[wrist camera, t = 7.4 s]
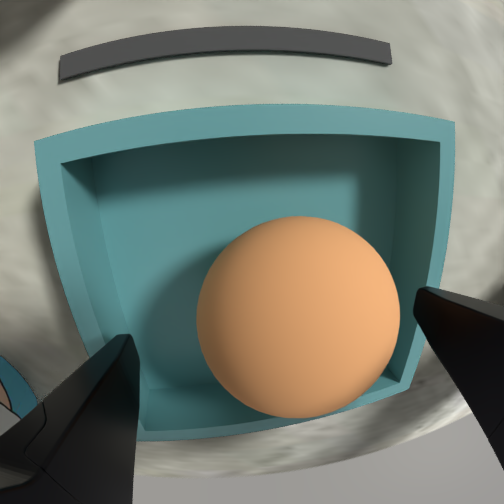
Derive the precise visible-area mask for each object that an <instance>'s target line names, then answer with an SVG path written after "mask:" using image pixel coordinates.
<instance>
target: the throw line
mask: <svg viewBox="0 0 504 504" xmlns="http://www.w3.org/2000/svg"><path fill="white" fill-rule="evenodd" d="M226 51H284V52H302V53H314V54H325V55H333V56H341V57H349V58H355V59H362V60H368V61H373V62H378V63H383V64H388V65H391V64H392V57H391V49H390V43H386V42H382V41H378V40H373V39H369V38H364V37H358V36H353V35H347V34H341V33H335V32H328V31H320V30H312V29H302V28H289V27H271V26H222V27H204V28H191V29H181V30H173V31H165V32H158V33H152V34H146V35H140V36H135V37H130V38H125V39H120V40H116V41H111V42H107V43H103V44H99V45H95V46H92V47H88V48H84V49H81V50H78V51H74V52H71V53H68V54H65V55H62V56H60V80H64V79H67V78H71V77H74V76H77V75H81V74H84V73H88V72H92V71H96V70H100V69H104V68H108V67H112V66H117V65H122V64H127V63H132V62H137V61H143V60H148V59H155V58H161V57H169V56H177V55H186V54H196V53H208V52H226Z"/></svg>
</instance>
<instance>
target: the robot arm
mask: <svg viewBox="0 0 504 504" xmlns="http://www.w3.org/2000/svg"><path fill="white" fill-rule="evenodd" d="M413 316H414V318H415V319H416V321H417V323H418V325H419V326H420V328H421V330H422V332H423V333H424V335H425V337H426V339H427V341H428V342H429V344H430V346H431V348H432V349H433V351H434V352H435V354H436V355H437V357H438V358H439V360H440V361H441V363H442V364H443V366H444V367H445V369H446V370H447V372H448V374H449V375H450V377H451V378H452V380H453V381H454V383H455V384H456V386H457V388H458V389H459V391H460V392H461V394H462V396H463V397H464V399H465V400H466V402H467V404H468V405H469V407H470V409H471V410H472V412H473V414H474V416H475V417H476V419H477V421H478V422H479V424H480V426H481V428H482V429H483V431H484V433H485V435H486V437H487V438H488V441H489V443H490V444H491V446H492V448H493V450H494V452H495V454H496V456H497V458H498V460H499V462H500V463H501V466H502V468H503V470H504V306H502V305H498V304H494V303H491V302H487V301H483V300H479V299H476V298H472V297H468V296H464V295H461V294H457V293H453V292H449V291H445V290H442V289H438V288H434V287H430V286H425V287H421V288H419V289H418V290H417V292H416V296H415V301H414V306H413ZM139 409H140V358H139V354H138V351H137V349H136V346H135V343H134V339H133V337H132V335H131V334H118V335H116V336H115V337H114V338H112V339H111V340H110V341H109V342H108V343H107V344H105V345H104V346H103V347H102V348H101V349H100V350H99V351H97V352H96V353H95V354H94V355H93V356H92V357H91V358H89V359H88V360H87V361H86V362H85V363H84V364H83V365H81V366H80V367H79V368H78V369H77V370H76V371H75V372H74V373H72V374H71V375H70V376H69V377H68V378H67V379H66V380H65V381H63V382H62V383H61V384H60V385H59V386H58V387H57V388H56V389H54V390H53V391H52V392H51V393H50V394H49V395H48V396H47V397H46V398H44V399H43V402H40V403H39V404H38V405H37V406H36V407H35V408H33V409H32V410H31V411H30V412H29V413H28V414H27V415H25V416H24V417H23V418H22V419H21V420H20V421H18V422H17V423H16V424H15V425H13V426H12V427H11V428H10V429H8V430H7V431H6V432H4V433H3V434H2V435H0V504H132V498H133V477H134V462H135V450H136V439H137V429H138V419H139Z"/></svg>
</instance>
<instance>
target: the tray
mask: <svg viewBox="0 0 504 504" xmlns="http://www.w3.org/2000/svg"><path fill="white" fill-rule="evenodd" d="M34 146H35V156H36V165H37V173H38V180H39V187H40V193H41V199H42V205H43V210H44V215H45V220H46V225H47V229H48V234H49V238H50V242H51V246H52V250H53V254H54V258H55V262H56V265H57V269H58V272H59V276H60V279H61V282H62V285H63V289H64V292H65V295H66V298H67V301H68V304H69V307H70V309H71V312H72V315H73V318H74V320H75V323H76V326H77V328H78V331H79V334H80V336H81V339H82V341H83V343H84V346H85V348H86V351H87V353H88V355H89V357H90V358H91V357H92V356H93V355H94V354H95V353H96V352H97V351H99V350H100V349H101V348H102V347H103V346H104V345H105V344H107V343H108V342H109V341H110V340H111V339H112V338H114V337H115V336H116V335H118V334H131V335H132V337H133V339H134V343H135V346H136V349H137V351H138V354H139V358H140V409H139V419H138V429H137V439H136V441H174V440H190V439H202V438H212V437H221V436H230V435H237V434H244V433H251V432H257V431H263V430H268V429H273V428H279V427H284V426H288V425H293V424H298V423H302V422H306V421H310V420H314V419H318V418H322V417H326V416H330V415H333V414H337V413H340V412H344V411H347V410H350V409H354V408H357V407H360V406H363V405H366V404H369V403H372V402H375V401H378V400H381V399H384V398H386V397H389V396H392V395H395V394H397V393H400V392H402V391H405V390H407V389H409V387H410V384H411V381H412V379H413V376H414V373H415V370H416V368H417V365H418V362H419V359H420V356H421V353H422V350H423V346H424V343H425V340H426V337H425V335H424V333H423V332H422V330H421V328H420V326H419V325H418V323H417V321H416V319H415V318H414V316H413V306H414V301H415V296H416V292H417V290H418V289H419V288H421V287H425V286H430V287H434V288H438V289H439V286H440V281H441V276H442V271H443V266H444V260H445V255H446V249H447V242H448V235H449V228H450V220H451V211H452V200H453V187H454V169H455V122H453V121H449V120H444V119H439V118H434V117H428V116H422V115H416V114H410V113H404V112H396V111H389V110H381V109H372V108H361V107H350V106H335V105H314V104H253V105H232V106H217V107H205V108H195V109H185V110H177V111H169V112H162V113H155V114H148V115H142V116H136V117H131V118H125V119H120V120H115V121H110V122H105V123H101V124H96V125H92V126H88V127H83V128H79V129H75V130H72V131H68V132H64V133H60V134H57V135H53V136H50V137H47V138H43V139H40V140H37V141H34ZM290 216H307V217H317V218H322V219H326V220H330V221H333V222H336V223H338V224H340V225H342V226H345V227H347V228H348V229H350V230H352V231H353V232H355V233H357V234H358V235H359V236H360V237H362V238H363V239H364V240H366V241H367V242H368V243H369V244H370V245H371V246H372V247H373V248H374V249H375V250H376V252H377V253H378V254H379V255H380V257H381V258H382V259H383V261H384V262H385V264H386V266H387V268H388V269H389V271H390V273H391V276H392V278H393V281H394V283H395V287H396V290H397V293H398V299H399V306H400V325H399V331H398V337H397V342H396V345H395V348H394V351H393V354H392V356H391V358H390V360H389V362H388V364H387V366H386V367H385V369H384V371H383V372H382V374H381V375H380V377H379V378H378V379H377V381H376V382H375V383H374V384H373V385H372V386H371V387H370V388H369V389H368V390H367V391H366V392H365V393H363V394H362V395H361V396H360V397H359V398H357V399H356V400H355V401H353V402H351V403H350V404H348V405H347V406H345V407H343V408H340V409H338V410H336V411H333V412H331V413H328V414H324V415H320V416H317V417H310V418H283V417H277V416H272V415H268V414H265V413H262V412H259V411H257V410H255V409H253V408H251V407H249V406H247V405H245V404H244V403H242V402H241V401H239V400H238V399H236V398H235V397H234V396H233V395H231V394H230V393H229V392H228V391H227V390H226V389H225V388H224V387H223V386H222V385H221V384H220V382H219V381H218V380H217V379H216V377H215V376H214V375H213V373H212V371H211V370H210V368H209V366H208V365H207V362H206V360H205V358H204V355H203V353H202V351H201V347H200V343H199V339H198V333H197V325H196V315H197V305H198V299H199V294H200V291H201V288H202V285H203V282H204V279H205V277H206V275H207V273H208V271H209V269H210V267H211V266H212V264H213V263H214V261H215V260H216V258H217V257H218V256H219V254H220V253H221V252H222V251H223V250H224V249H225V248H226V247H227V246H228V245H229V244H230V243H231V242H232V241H233V240H234V239H236V238H237V237H238V236H240V235H241V234H243V233H244V232H246V231H248V230H249V229H251V228H252V227H255V226H257V225H259V224H261V223H264V222H267V221H271V220H274V219H278V218H283V217H290Z"/></svg>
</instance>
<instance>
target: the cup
mask: <svg viewBox="0 0 504 504" xmlns="http://www.w3.org/2000/svg"><path fill="white" fill-rule="evenodd" d="M37 405H38V403H37V400H36V397H35V395H34V393H33V392H32V390H31V388H30V386H29V385H28V383H27V382H26V381H25V380H24V379H23V377H22V376H21V375H20V374H19V372H18V371H17V370H16V369H15V368H13V367H12V366H11V365H10V364H9V363H8V362H7V361H6V360H5V359H4V358H2V357H1V356H0V435H2V434H3V433H4V432H6V431H7V430H8V429H10V428H11V427H12V426H13V425H15V424H16V423H17V422H18V421H20V420H21V419H22V418H23V417H24V416H25V415H27V414H28V413H29V412H30V411H31V410H32V409H33V408H35V407H36V406H37Z"/></svg>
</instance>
